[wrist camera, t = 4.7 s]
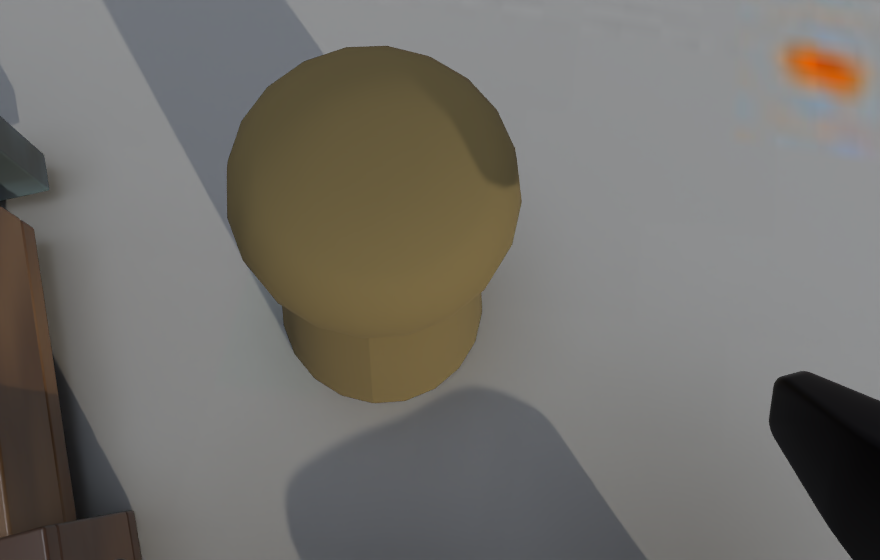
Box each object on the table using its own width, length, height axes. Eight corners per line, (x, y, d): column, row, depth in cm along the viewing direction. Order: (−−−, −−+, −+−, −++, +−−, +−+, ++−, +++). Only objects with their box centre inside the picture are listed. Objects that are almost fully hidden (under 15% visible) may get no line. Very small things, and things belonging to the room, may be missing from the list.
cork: (333, 179, 23) (280, -67, 12) (511, 253, 23) (614, 67, 12) (247, 355, 21) (103, 249, 11) (436, 435, 21) (481, 408, 11)
